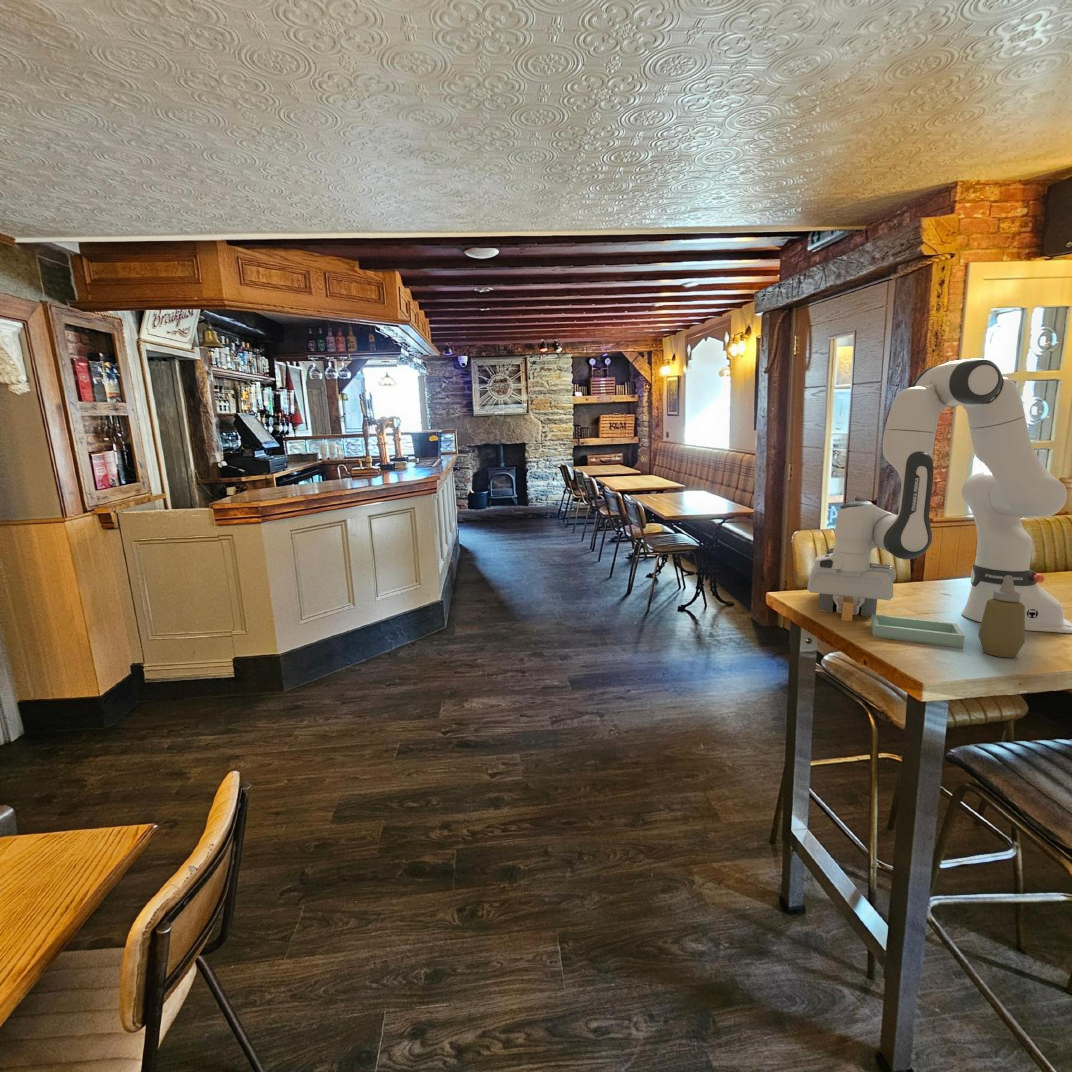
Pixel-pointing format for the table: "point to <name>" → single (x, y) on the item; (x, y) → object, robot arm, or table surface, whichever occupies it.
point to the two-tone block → (847, 606)
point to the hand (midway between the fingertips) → (847, 611)
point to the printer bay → (866, 608)
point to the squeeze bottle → (1003, 622)
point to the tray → (917, 630)
